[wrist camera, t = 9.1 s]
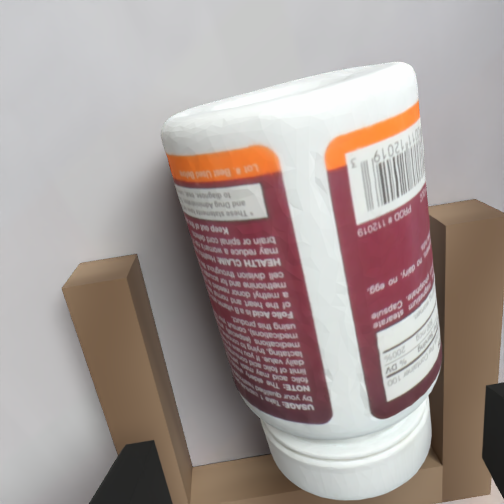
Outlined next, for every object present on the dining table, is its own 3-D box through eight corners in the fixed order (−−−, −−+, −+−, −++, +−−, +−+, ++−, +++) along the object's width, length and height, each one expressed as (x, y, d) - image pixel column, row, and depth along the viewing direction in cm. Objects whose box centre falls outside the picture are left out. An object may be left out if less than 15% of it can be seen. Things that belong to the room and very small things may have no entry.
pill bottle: (181, 105, 11) (257, 384, 14) (121, 135, 6) (251, 532, 10) (382, 58, 10) (415, 359, 13) (465, 55, 6) (485, 505, 9)
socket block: (475, 199, 12) (509, 215, 11) (465, 455, 15) (490, 494, 14) (79, 263, 12) (61, 288, 10) (156, 508, 15) (150, 551, 14)
